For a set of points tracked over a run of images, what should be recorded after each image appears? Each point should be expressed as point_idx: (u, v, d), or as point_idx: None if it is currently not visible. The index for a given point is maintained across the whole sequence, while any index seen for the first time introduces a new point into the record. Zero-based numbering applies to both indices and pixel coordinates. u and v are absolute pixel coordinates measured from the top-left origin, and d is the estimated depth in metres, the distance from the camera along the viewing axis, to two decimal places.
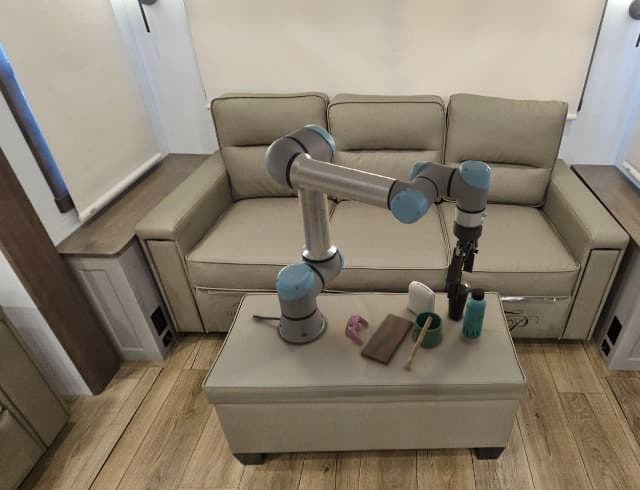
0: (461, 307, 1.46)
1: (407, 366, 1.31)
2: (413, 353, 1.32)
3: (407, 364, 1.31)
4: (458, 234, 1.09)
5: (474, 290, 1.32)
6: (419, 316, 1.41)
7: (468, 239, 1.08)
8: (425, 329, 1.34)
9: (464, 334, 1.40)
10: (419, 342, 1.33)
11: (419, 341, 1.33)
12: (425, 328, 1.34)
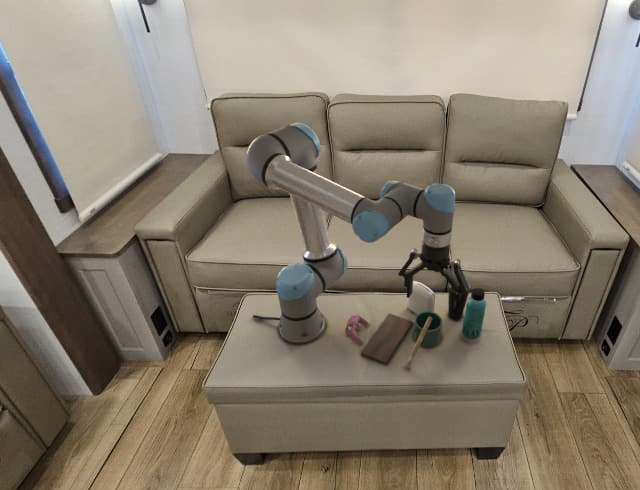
0: (461, 307, 1.46)
1: (407, 366, 1.31)
2: (413, 353, 1.32)
3: (407, 364, 1.31)
4: None
5: (474, 290, 1.32)
6: (419, 316, 1.41)
7: (421, 251, 1.14)
8: (425, 329, 1.34)
9: (464, 334, 1.40)
10: (419, 342, 1.33)
11: (419, 341, 1.33)
12: (425, 328, 1.34)
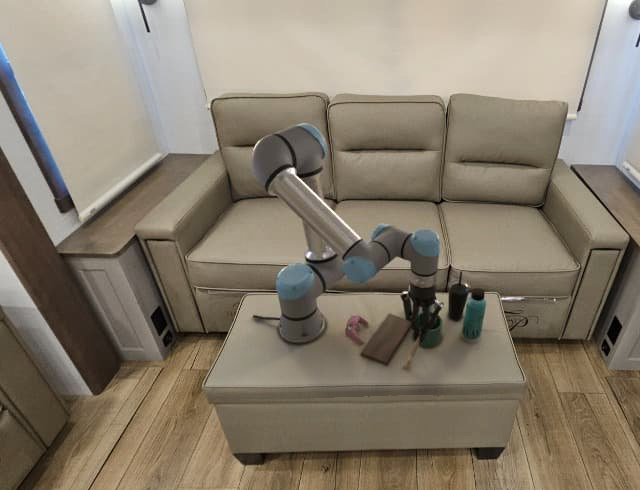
0: (461, 307, 1.46)
1: (407, 366, 1.31)
2: (412, 353, 1.32)
3: (407, 364, 1.31)
4: None
5: (474, 290, 1.32)
6: (419, 316, 1.41)
7: None
8: None
9: (464, 334, 1.40)
10: (418, 342, 1.33)
11: (418, 341, 1.33)
12: None
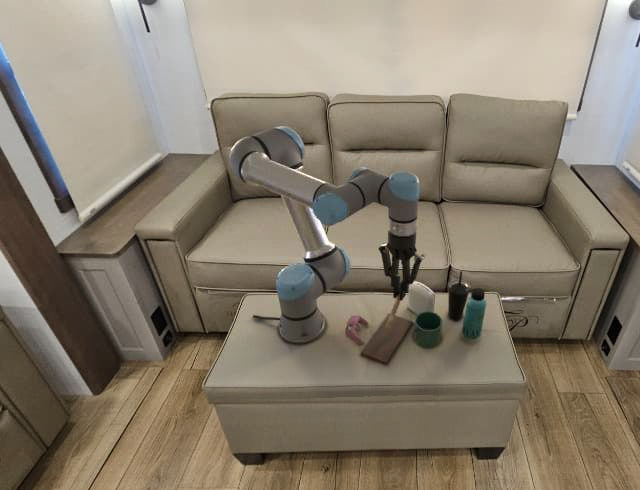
0: (461, 307, 1.46)
1: (387, 326, 1.23)
2: (393, 312, 1.24)
3: (387, 324, 1.24)
4: None
5: (474, 290, 1.32)
6: (419, 316, 1.41)
7: None
8: None
9: (464, 334, 1.40)
10: (398, 300, 1.25)
11: (398, 299, 1.25)
12: None
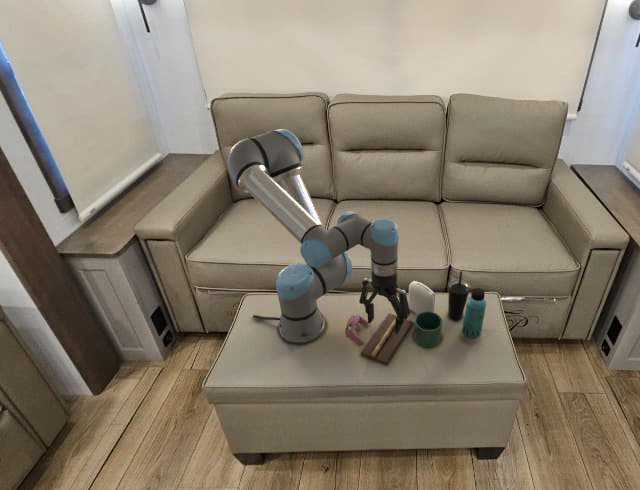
0: (461, 307, 1.46)
1: (373, 352, 1.34)
2: (379, 343, 1.37)
3: (373, 351, 1.34)
4: None
5: (474, 290, 1.32)
6: (419, 316, 1.41)
7: None
8: (391, 326, 1.43)
9: (464, 334, 1.40)
10: (385, 335, 1.40)
11: (385, 334, 1.40)
12: (391, 326, 1.43)
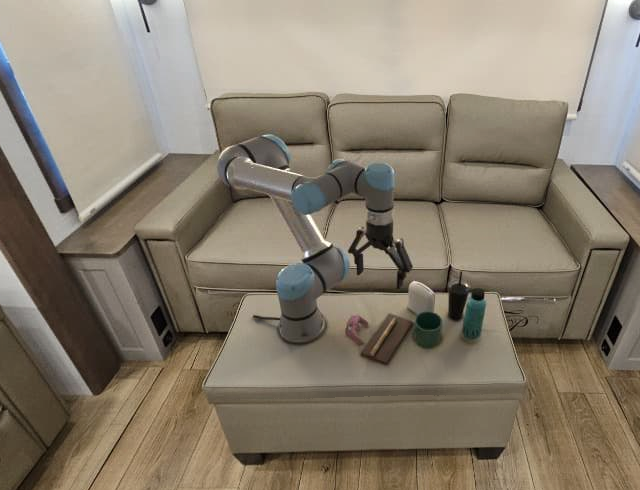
0: (461, 307, 1.46)
1: (370, 352, 1.34)
2: None
3: None
4: None
5: (474, 290, 1.32)
6: (419, 316, 1.41)
7: None
8: (388, 326, 1.44)
9: (464, 334, 1.40)
10: None
11: None
12: None
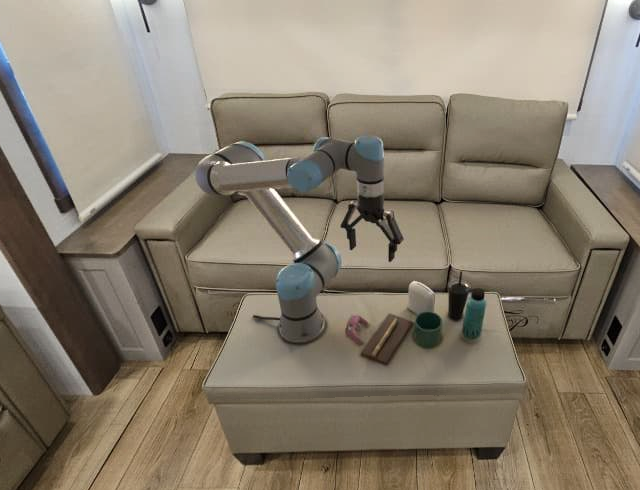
0: (461, 307, 1.46)
1: (373, 352, 1.34)
2: (379, 343, 1.37)
3: (373, 351, 1.34)
4: None
5: (474, 290, 1.32)
6: (419, 316, 1.41)
7: (357, 201, 1.21)
8: (391, 326, 1.43)
9: (464, 334, 1.40)
10: (385, 335, 1.40)
11: (385, 334, 1.40)
12: (391, 326, 1.43)
